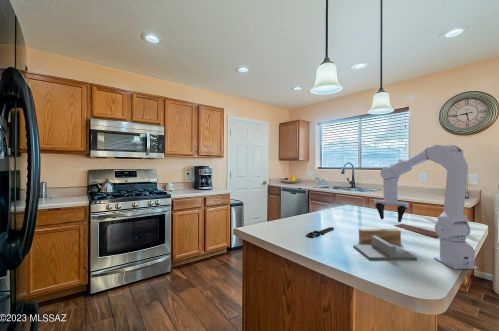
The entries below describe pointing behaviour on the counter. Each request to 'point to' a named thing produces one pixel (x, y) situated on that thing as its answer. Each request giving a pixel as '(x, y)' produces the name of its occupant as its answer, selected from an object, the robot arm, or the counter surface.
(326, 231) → the black spatula
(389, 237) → the wooden block
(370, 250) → the stand
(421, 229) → the wooden tablet
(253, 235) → the counter surface
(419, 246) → the counter surface
